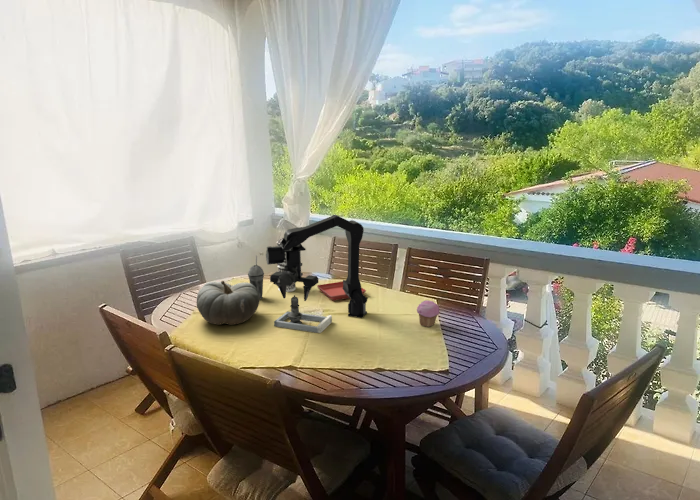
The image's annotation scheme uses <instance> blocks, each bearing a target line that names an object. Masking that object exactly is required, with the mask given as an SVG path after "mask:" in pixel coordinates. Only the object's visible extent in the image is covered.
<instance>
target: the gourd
mask: <svg viewBox="0 0 700 500" xmlns="http://www.w3.org/2000/svg"><path fill="white" fill-rule="evenodd" d="M260 300H261V299H260V297H259V294H258V291H257V289H256V287H255V286H254V285H252V284H250V282H238V283H236V284H232V285H231V284H230V283H226V282H225V280H221V281H209V282H205V284H203V286H202V287H201V288H200V289H199V291H198V292H197V295H196V307H197V310H198V312H199V314H200V315H201V317H202V318H203V319H204V320H205V321H206V322H208V323H209V324H213V325H218V326H220V325H223V324H227V325H229V326H230V325H231V326H234V325H238V324H242V323H244V322H246V321H249V319H250V318H251V317H253V315H255V313H256V312H257V310H258V308H259V305H260Z"/></svg>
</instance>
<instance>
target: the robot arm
mask: <svg viewBox="0 0 700 500" xmlns="http://www.w3.org/2000/svg"><path fill="white" fill-rule="evenodd" d="M336 227H339V228H341V230H344V232H345V237H346V239H347V240H346V241H347V243H348V245H347V248H348V249H347V277H346V279H343V280H342V281H343V288H342V289H343V290H344V292H345V293H346V294H347V295H348V296H349V298H348V299H350V300H349V301H348V305H347V309H348V310H347V311H348V314H347V316H348V317H353V318H359V319H360V318H361V319H362V318H364V317H365V315H367V313H368V311H366V310H367V309H366V308H367V302H368V299H369V298H368V297H366V295H365V294H362V288H363V287H362V284H361V281H360V277H359V275H360V274H359V273H360V244H361V241H362V240H363V236H364V226H363V225H362V224H361V223H359V222H358V221H356V220H348V219H346V218H343V217H341V216H339V215H337V214H332V215H330V216H328V217H326V218H324V219H322V220H319V221H316V222H314V223H310V224H309V225H306V226H302V227H299V226H298V227H293V228H290V229H287V230H285V232H284V234H283V237H282V238H283V240H282V241H281V243H280V244H279V246H276V245H275V246H269V245H268V246H267V247H266V252H265V261H266V264H267V265H277V264H279V263H283V262H284V260H285V252H286V265H285V267H284V272H278V271H276V272H274V273H272V274H271V275H270V277H269V282H270V283H273V285H276V286H277V288H278V287H279V289H280V291H279V292H280V294H281V297H282V298H283V299H286V297H287V296H286V295H287V292H286V285H287V286H291V285H292V283H293V282H295V284H296V283H302V284H303V286H302V288H303V302H307V300H308V297H309V294H310V292H311V290H312V288H313V287H315V286H317V285H318V284H319V278H318V276H317V275H310V274H309V275H307V276H306V277H304V276H303V272H302V266H303V262H302V258H301V257H302V256H301V255H302V254H301V252H302V251H306V250H307V249H306V247H304V246H303V245H302V244H303V243H305V242H306V241H307V240H308V239H309V238H310V237H313V236H315V235H318V234H321V233H322V232H326V231H328V230H330V229H333V228H336ZM361 287H362V288H361Z"/></svg>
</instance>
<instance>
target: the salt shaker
mask: <svg viewBox="0 0 700 500" xmlns="http://www.w3.org/2000/svg"><path fill="white" fill-rule="evenodd" d="M289 307H290V312H291V313H289V314H288V320H289V322H290V323H297V324H303V321H302V319H301V318H302V315H303V314H304V313H303V312H301V311H299V310H300V305H299V297H297V296H296V295H295V294H294V295H293V297H291V298H290V306H289ZM302 313H303V314H302Z"/></svg>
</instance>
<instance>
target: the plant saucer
mask: <svg viewBox="0 0 700 500" xmlns="http://www.w3.org/2000/svg"><path fill="white" fill-rule="evenodd" d="M316 287H317V289H319V291H320V292H321V293H323V294H324V295H325V296H326V297H328V298H329V299H330V300H331V301H334V302H335V301H340V300H347V299H350V298H349V296H348V295H347V294H346V293H345V292H344V290H343V289H342V288H343V280H342V281H337V282H329V283H322V284H316ZM361 288H362V294H363V295H365V293H366V292H367V290H366V289H365V288H363V287H362V286H361Z"/></svg>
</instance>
